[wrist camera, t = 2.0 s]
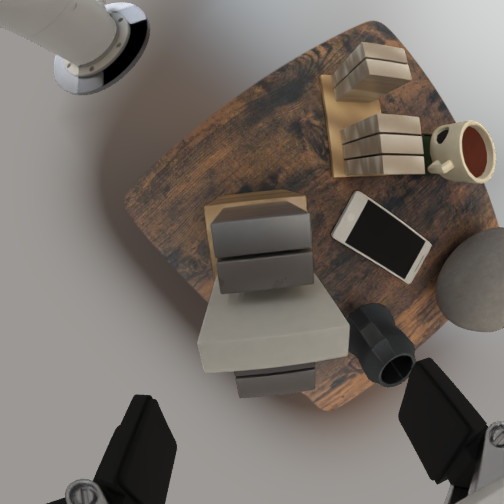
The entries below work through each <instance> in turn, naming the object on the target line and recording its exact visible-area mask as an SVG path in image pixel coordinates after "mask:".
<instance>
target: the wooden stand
mask: <svg viewBox="0 0 504 504" xmlns="http://www.w3.org/2000/svg"><path fill="white" fill-rule="evenodd" d="M204 213H205V220H206V227H207V235H208V241H209V248H210V255H211V261H212V268H213V274H214V281H215V280H216V276H217V275H218V281H219V287H220V293H221V294H231V293H241V292H250V291H260V290H268V289H277V288H285V287H294V286H302V285H309V284H314V266H313V252H312V251H311V250H310V248H311V247H312V230H311V216H310V213H308V212H307V200H306V195H302V194H299V193H295V192H292V191H288V190H284V189H279V190H269V191H259V192H250V193H241V194H232V195H224V196H220V197H218V198H217V199H215V200H213V201H212V202H210V203H209V204H207V205H206V206H204ZM234 373H235V376H236V383H237V389H238V394H239V398H249V397H261V396H270V395H278V394H287V393H294V392H301V391H308V390H314V389H315V362H310V363H304V364H297V365H289V366H282V367H273V368H264V369H255V370H243V371H234Z"/></svg>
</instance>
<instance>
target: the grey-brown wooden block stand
mask: <svg viewBox="0 0 504 504" xmlns="http://www.w3.org/2000/svg"><path fill="white" fill-rule="evenodd" d="M407 63H408V62H407V59H406V55H405V51H404V49H401V48H396V47H391V46H386V45H380V44H373V43H366V42H361V43H360V45H359V46H358V47H357V48H356V49H355V50H354V51H353V52H352V53H351V54H350V56H349V57H348V58H347V59H346V60H345V61H344V62H343V63H342V64H341V66H340V67H339V68H338V69H337V70H336V71H335V72H334V73H333V75H320V76H319V82H320V87H321V93H322V100H323V106H324V113H325V120H326V128H327V135H328V144H329V152H330V162H331V172H332V178H336V177H357V176H388V174H425V165H424V157H423V156H409V155H421V154H424V152H423V142H422V137H421V136H416V135H421V127H420V120H419V117H413V116H403V115H393V114H381V109H380V103H379V98H380V97H381V96H383V95H385V94H387V93H389V92H391V91H393V90H394V89H396V88H398V87H400V86H402V85H404V84H406V83H408V82H410V81H412V78H411V74H410V70H409V66H408V65H406V64H407Z"/></svg>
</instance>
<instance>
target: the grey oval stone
mask: <svg viewBox="0 0 504 504" xmlns="http://www.w3.org/2000/svg"><path fill="white" fill-rule="evenodd" d="M436 300H437V303H438V306H439V308H440V310H441V311H442V313H443V314H444V316H445V317H446V318H447V319H448V320H449V321H451V322H452V323H453V324H455V325H457V326H459V327H461V328H464V329H467V330H472V331H478V332H493V331H497V330H500V329H502V328H504V228H500V227H498V228H491V229H487V230H484V231H481V232H479V233H477V234H475V235H473V236H471V237H470V238H468V239H467V240H465V241H464V242H463V243H461V244H460V245H459V246H458V247H457V248H456V249H455V250H454V251H453V252H452V253H451V254H450V256H449V257H448V258H447V260H446V261H445V263H444V265H443V267H442V269H441V271H440V273H439V276H438V279H437V284H436Z"/></svg>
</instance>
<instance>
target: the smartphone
mask: <svg viewBox="0 0 504 504" xmlns="http://www.w3.org/2000/svg"><path fill="white" fill-rule="evenodd" d="M331 236H332V237H333V238H334V239H336V240H337V241H339V242H341V243H343V244H344V245H346V246H348V247H349V248H351V249H353V250H354V251H356V252H358V253H359V254H361V255H363V256H364V257H366V258H368V259H369V260H371V261H373V262H374V263H376V264H377V265H379V266H381V267H382V268H384V269H386V270H387V271H389V272H390V273H392V274H393V275H395V276H397V277H398V278H400V279H401V280H403V281H405V282H406V283H408V284H410V283H411V282H412V280H413V279H414V277H415V275H416V274H417V272H418V270H419V268H420V266H421V265H422V263H423V261H424V259H425V257H426V256H427V254H428V252H429V250H430V248H431V243H430V242H428V241H427V240H426V239H425V238H423V237H422V236H421V235H420V234H418V233H417V232H416V231H415V230H413V229H412V228H411V227H409V226H408V225H407V224H405V223H404V222H403V221H401V220H400V219H399V218H397V217H396V216H395V215H393V214H392V213H390V212H389V211H388V210H386V209H385V208H383V207H382V206H381V205H379V204H378V203H376V202H375V201H373V200H372V199H370V198H369V197H368V196H366V195H365V194H363V193H362V192H360V191H354V193H353V195H352V196H351V198H350V200H349V202H348V204H347V206H346V208H345V209H344V211H343V213H342V215H341V217H340V219H339V220H338V222H337V224H336V226H335V228H334V229H333V231H332V233H331Z"/></svg>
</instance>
